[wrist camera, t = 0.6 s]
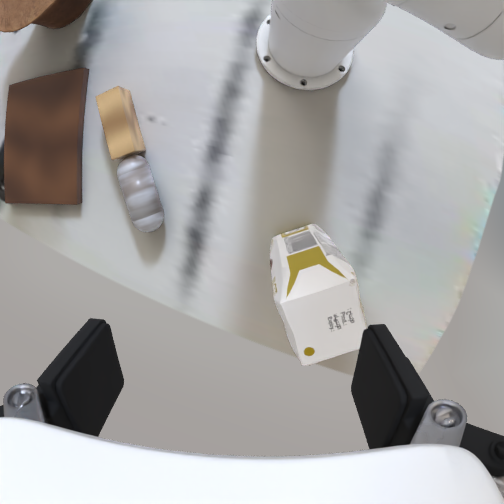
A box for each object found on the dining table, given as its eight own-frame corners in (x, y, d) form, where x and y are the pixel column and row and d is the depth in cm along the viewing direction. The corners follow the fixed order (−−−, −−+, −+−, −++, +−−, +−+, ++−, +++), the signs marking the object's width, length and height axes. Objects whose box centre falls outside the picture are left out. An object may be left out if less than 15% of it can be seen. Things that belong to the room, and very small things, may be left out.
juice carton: (318, 215, 41) (361, 265, 23) (334, 272, 44) (377, 350, 26) (264, 232, 42) (267, 296, 24) (283, 289, 45) (297, 376, 27)
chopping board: (14, 85, 35) (9, 85, 34) (89, 69, 35) (84, 67, 34) (10, 201, 41) (5, 203, 40) (82, 202, 41) (77, 204, 40)
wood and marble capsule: (105, 101, 37) (90, 97, 33) (133, 89, 36) (120, 83, 32) (143, 231, 43) (132, 240, 38) (172, 222, 42) (162, 230, 38)
